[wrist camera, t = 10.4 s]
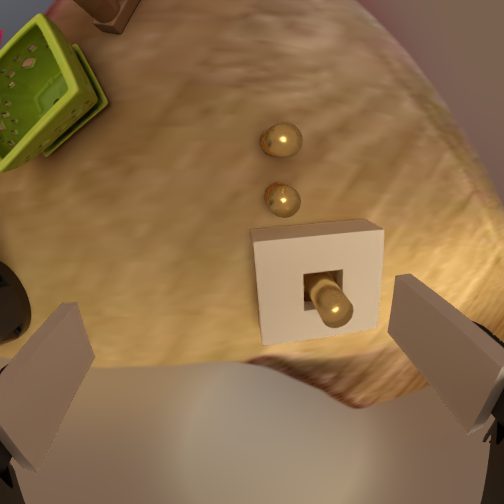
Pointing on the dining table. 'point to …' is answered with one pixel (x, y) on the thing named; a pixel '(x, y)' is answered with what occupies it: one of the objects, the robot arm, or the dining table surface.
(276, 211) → the pin short
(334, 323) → the pin long
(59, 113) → the flower pot
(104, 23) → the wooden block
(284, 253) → the white block with hole
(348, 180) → the dining table surface
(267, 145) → the pin medium
